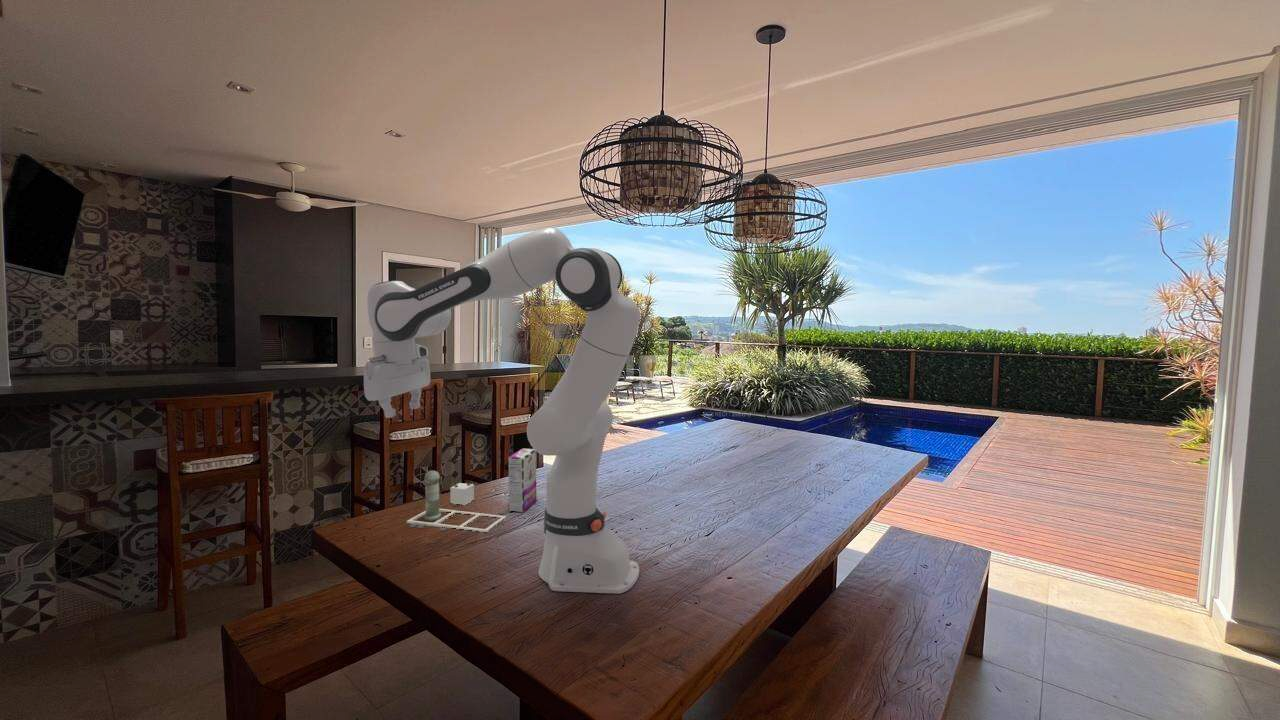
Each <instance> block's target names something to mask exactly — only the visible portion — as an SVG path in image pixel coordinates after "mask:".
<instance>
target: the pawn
mask: <svg viewBox="0 0 1280 720" xmlns="http://www.w3.org/2000/svg"><path fill="white" fill-rule="evenodd" d="M440 477H441V476H440V473H439V472H438V471H436V470H433V469H432V470H431V469H430V470H428V471H427V472H426V473H425V474H424V481H425V482H424V483H425V484H424V485H425V486H424V487H425V488H424V490H425V491H424V492H425V497H424V499H425V511H426V514H424V516H423V520H425V521H426V522H427V521H428V522H432V521H438V520H439V519H441V518H442V512H439V509H440Z"/></svg>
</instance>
